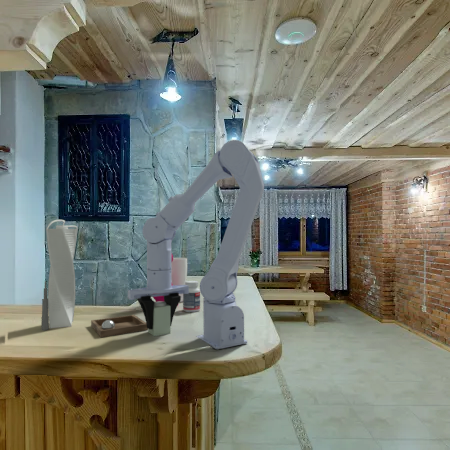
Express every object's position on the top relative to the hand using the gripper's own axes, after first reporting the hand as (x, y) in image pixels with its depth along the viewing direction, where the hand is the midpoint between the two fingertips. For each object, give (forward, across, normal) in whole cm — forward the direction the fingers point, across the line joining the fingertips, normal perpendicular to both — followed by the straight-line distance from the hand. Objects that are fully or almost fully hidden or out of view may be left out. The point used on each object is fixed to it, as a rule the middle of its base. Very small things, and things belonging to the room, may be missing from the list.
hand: (159, 326), depth 82 cm
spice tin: (+2, 0, 0) cm, 2 cm away
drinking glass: (+2, -20, -34) cm, 40 cm away
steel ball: (+1, +10, -6) cm, 12 cm away
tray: (+2, +7, -9) cm, 12 cm away
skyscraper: (+2, +19, -20) cm, 28 cm away
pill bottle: (+2, -18, -19) cm, 26 cm away
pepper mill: (+2, -12, -27) cm, 30 cm away
